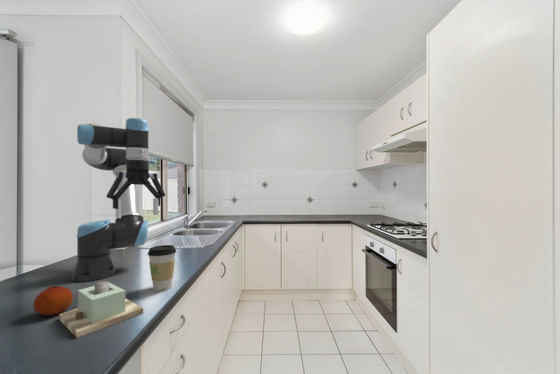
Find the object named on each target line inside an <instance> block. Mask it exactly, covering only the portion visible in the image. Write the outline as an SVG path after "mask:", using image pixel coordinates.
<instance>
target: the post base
mask: <svg viewBox="0 0 560 374" xmlns="http://www.w3.org/2000/svg"><path fill="white" fill-rule="evenodd" d="M109 283H110V282H109V281H108V280H107V281H98V282H96V283H95V284H94V286H95V295H97V294H101V293H104V292H108V291H109ZM142 314H144V307H142V306H140V305H138V304H136V303H135V302H133V301H132V300H129V299H128V298H126V297H125V312H123V313H120V314H117V315H114V316H111V317H108V318H106V319H103V320H100V321H97V322H94V323H92V322H91V321H90V320H89V319H87V318H86V317H85V316H84V315H83V312H79V311H78V307H77V308H75V309H71V310H68V311H63V312H60V313H58V319H59V321H60V322H61V323H62V324H63V325H64V326H65V328H67V329H68V330H69V331H70V333H71V334H73V335H74V336H75V338H76V339H78V338H81V337H84V336H87V335H88V334H89V335H90V334H92V333H95V332H96V331H100V330H103V329H106V328H108V327H111V326H114V325H115V324H119V323H121V322H124V321H126V320H130V319H131V318H134V317H137V316H139V315H142Z"/></svg>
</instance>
